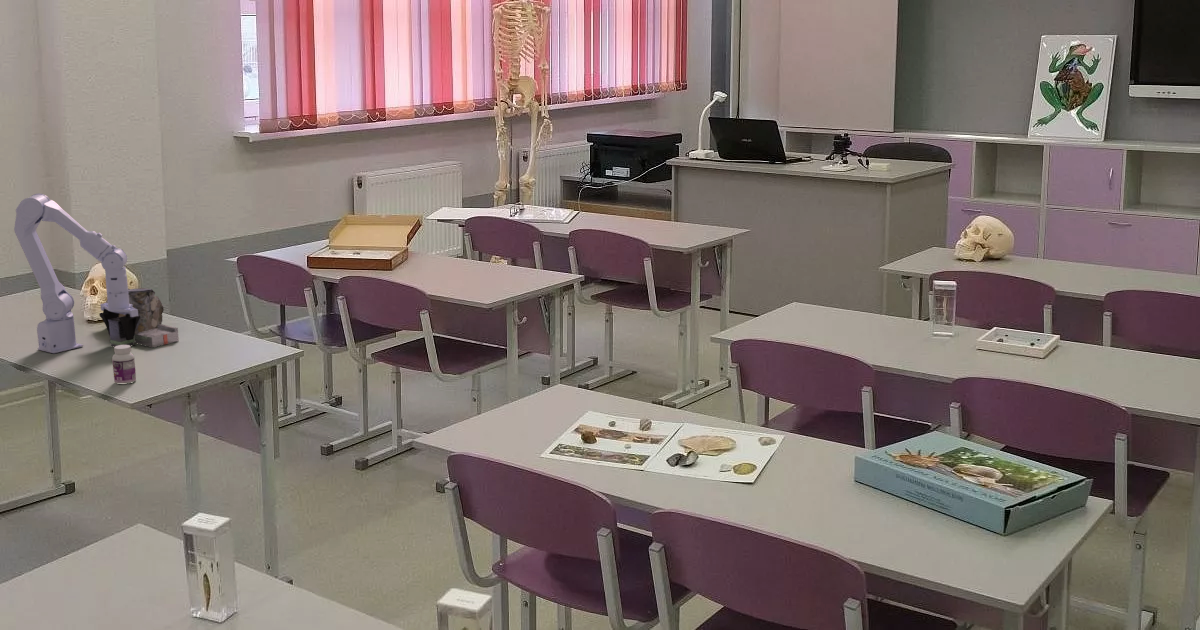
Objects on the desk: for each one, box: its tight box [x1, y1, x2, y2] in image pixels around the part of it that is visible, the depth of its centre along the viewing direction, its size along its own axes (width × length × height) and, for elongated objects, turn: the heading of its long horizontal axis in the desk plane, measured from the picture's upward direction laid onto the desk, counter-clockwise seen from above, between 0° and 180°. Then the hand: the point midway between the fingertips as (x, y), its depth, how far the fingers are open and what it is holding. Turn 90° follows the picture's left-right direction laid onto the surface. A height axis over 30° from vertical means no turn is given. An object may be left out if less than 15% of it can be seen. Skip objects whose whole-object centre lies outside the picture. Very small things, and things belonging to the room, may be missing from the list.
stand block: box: [134, 323, 180, 348], centre depth 353 cm, size 9×8×4 cm
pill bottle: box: [111, 345, 137, 384], centre depth 313 cm, size 5×5×10 cm
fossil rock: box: [104, 287, 164, 333], centre depth 367 cm, size 20×9×15 cm, turn 54°
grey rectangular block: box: [108, 316, 135, 348], centre depth 348 cm, size 5×5×8 cm
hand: (121, 337), depth 349 cm, fingers open, 7 cm apart
